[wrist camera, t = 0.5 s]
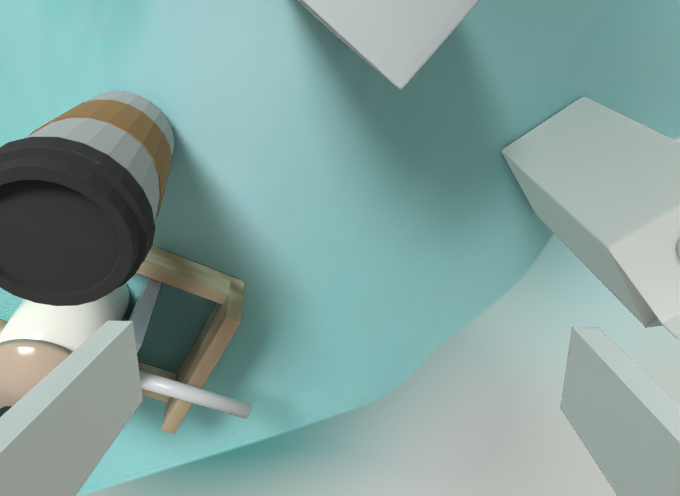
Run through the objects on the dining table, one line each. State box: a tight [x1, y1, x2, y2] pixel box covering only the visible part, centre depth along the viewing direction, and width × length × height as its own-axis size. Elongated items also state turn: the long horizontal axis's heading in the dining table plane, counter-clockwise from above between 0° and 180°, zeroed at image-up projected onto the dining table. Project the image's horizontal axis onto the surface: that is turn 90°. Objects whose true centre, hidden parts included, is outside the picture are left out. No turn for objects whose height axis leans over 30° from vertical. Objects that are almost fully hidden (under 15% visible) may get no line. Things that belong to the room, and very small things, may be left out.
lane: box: [0, 246, 244, 433], centre depth 39 cm, size 25×13×6 cm, turn 60°
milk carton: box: [502, 97, 680, 339], centre depth 32 cm, size 7×7×19 cm
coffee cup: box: [0, 91, 174, 306], centre depth 29 cm, size 8×8×15 cm
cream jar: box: [0, 283, 130, 409], centre depth 37 cm, size 7×7×11 cm
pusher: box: [128, 277, 251, 419], centre depth 41 cm, size 11×10×9 cm
